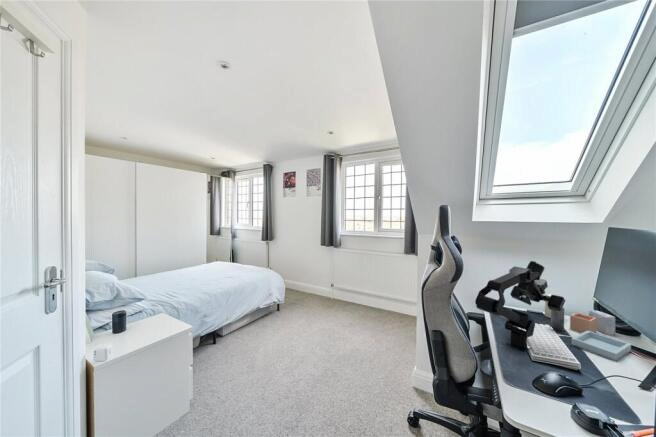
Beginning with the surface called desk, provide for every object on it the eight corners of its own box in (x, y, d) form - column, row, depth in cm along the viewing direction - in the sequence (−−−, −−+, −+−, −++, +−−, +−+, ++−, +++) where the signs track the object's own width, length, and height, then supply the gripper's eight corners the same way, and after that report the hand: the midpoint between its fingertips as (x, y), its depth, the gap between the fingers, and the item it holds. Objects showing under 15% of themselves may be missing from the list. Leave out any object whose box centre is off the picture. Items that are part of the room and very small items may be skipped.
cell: (561, 332, 116) (561, 308, 116) (548, 328, 121) (549, 304, 121) (565, 330, 119) (566, 306, 118) (553, 326, 123) (553, 303, 123)
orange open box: (589, 335, 114) (590, 320, 114) (570, 329, 120) (570, 315, 120) (596, 332, 117) (596, 318, 117) (576, 326, 123) (576, 312, 123)
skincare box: (553, 319, 131) (553, 297, 130) (544, 316, 135) (544, 294, 135) (561, 318, 133) (562, 296, 132) (552, 315, 137) (552, 293, 136)
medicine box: (615, 335, 114) (616, 317, 114) (606, 335, 114) (606, 317, 114) (597, 327, 122) (597, 310, 122) (588, 327, 122) (588, 310, 122)
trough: (615, 361, 94) (616, 353, 94) (571, 344, 106) (571, 338, 106) (630, 351, 101) (631, 344, 101) (587, 336, 113) (587, 330, 113)
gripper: (563, 278, 102) (575, 300, 107) (514, 269, 119) (526, 288, 124) (554, 300, 99) (566, 321, 104) (504, 287, 116) (517, 306, 121)
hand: (542, 307), depth 113 cm, fingers open, 9 cm apart
